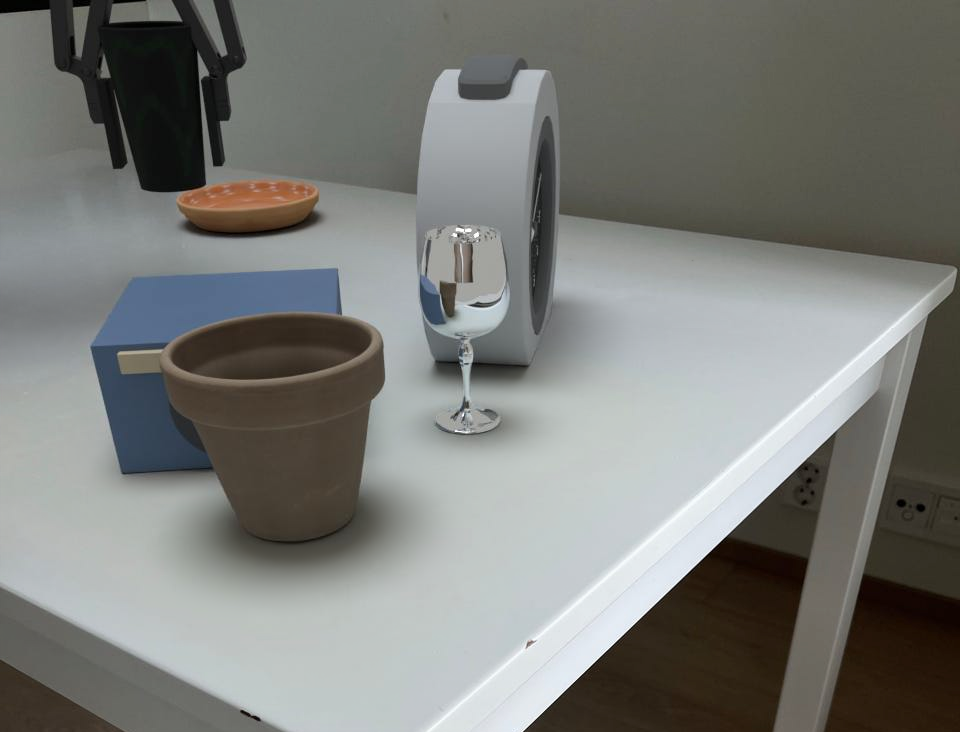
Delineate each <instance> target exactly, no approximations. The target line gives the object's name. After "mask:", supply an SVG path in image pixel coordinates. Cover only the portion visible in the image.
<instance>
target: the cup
mask: <svg viewBox="0 0 960 732" xmlns="http://www.w3.org/2000/svg"><path fill="white" fill-rule="evenodd" d="M97 30H98V34H99V37H100V41H101V44H102V48H103V52H104V58H105V62H106V66H107V69H108V73H109V78H111V81H112V84H113V88H114V93H115V98H116V104H117V107H118V111H119V115H120V117H121V120H122V121H121V122H122V124H123V128H124V132H125V135H126V139H127V142H128V146H129V150H130V152H131V153H130V154H131V157H132V161H133V164H134V168H135V171H136V175H137V179H138V182H139V186H140V189H141V190H143V191H146V192H151V193H180V192H181V193H182V192H188V191H191V190H195V189H199V188H202V187H206V186H207V175H206V161H205V159H206V158H205V145H204V133H203V132H204V131H203V130H204V129H203V114H202V97H201V82H200V69H199V68H200V67H199V53H198V51H197V49H196V47H195V45H194V43H193V41H192V37H191V26H190V25H184V23H183V21H182V20H137V21H136V20H135V21H119V22H109V26H108V27H102V26H98V27H97Z"/></svg>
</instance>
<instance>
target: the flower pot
mask: <svg viewBox="0 0 960 732" xmlns="http://www.w3.org/2000/svg"><path fill="white" fill-rule="evenodd" d="M384 348H385V346H384V339H383V336H382V333H381V332H380V330H378V329H377V328H376V327H375V326H373V325H372V324H371V323H369V322H366V321H364V320H362V319H359V318H355V317H352V316H347V315H343V314H342V315H338V314H330V313H320V312H277V313H264V314H257V315H249V316H243V317H237V318H232V319H227V320H223V321H219V322H215V323H212V324H208V325H205V326H202V327H199V328H196V329H194V330H192V331H189V332H187V333H185V334H183V335H181V336H179V337H177V338H176V339H174V340H173V341H171V342H170V343H169V344H168V345H167V346H166V347H165V348H164V349H163V350H162V352H161V354H160V358H159V364H160V369H161V371H162V374H163V378H164V382H165V386H166V390H167V394H168V397H169V400H170V403H171V405H172V406H173V407H174V409H175V410H176V411H177V412H179V413H180V414H181V415H183V416H184V417H186V418H188V419H190V420H192V422H193V424H194V426H195V428H196V430H197V432H198V434H199V436H200V438H201V441H202V443H203V445H204V447H205V450H206V452H207V454H208V456H209V459H210V461H211V463H212V465H213V468H212V469H213V470H214V472H215V475H216V477H217V479H218V482H219V484H220V486H221V488H222V490H223V492H224V494H225V496H226V498H227V500H228V502H229V504H230V507H231V508H232V510H233V512H234V514H235V516H236V517H237V519H238V521H239V523H240V525H241V526H242V528H243V529H245V531H246V532H248V533H249V534H251V535H253V536H255V537H258V538H261V539H264V540H267V541H268V540H269V541H274V542H302V541H308V540H313V539H317V538H321V537H324V536H327V535H330V534H332V533H334V532H336V531H338V530H340V529H341V528H343V527H344V526H345V525H347V523H349V522H350V521H351V519H352V518H353V517H354V514H355V513H356V508H357V504H358V499H359V494H360V487H361V483H362V482H361V481H362V476H363V469H364V462H365V453H366V444H367V437H368V436H367V435H368V427H369V419H370V411H371V405H372V401H373V400H374V399H375V398H376V397H377V396H378V395H379V394H380V393H381V391H382V389H383V388H384V385H385V382H386V366H385V365H386V364H385V353H384Z"/></svg>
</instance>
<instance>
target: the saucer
mask: <svg viewBox="0 0 960 732" xmlns="http://www.w3.org/2000/svg"><path fill="white" fill-rule="evenodd" d="M319 201H320V190H319V189H318V188H317V187H316V186H314V185H313V184H310V183H306V182H301V181H293V180H282V179H281V180H280V179H279V180H277V179H261V180H260V179H259V180H258V179H257V180H256V179H255V180H242V181H232V182H231V181H229V182H224V183H216V184H210V185H205V186H204V187H202V188H199V189H195V190H190V191H185V192H183V193H181V194H180V195H179V196H178V197H177V198H176V205H177V208H178V211H179V212H180V213H181V214H182V215H184V217H185V218H186V219H187V220H189V221H190V222H192V223H193V224H194V225H195V226H196V227H198V228H200V229H201V230H205V231H209V232H215V233H252V232H253V233H254V232H264V231H272V230H279V229H282V228H286V227H291V226H294V225H297V224H299V223H301V222H303V221H305V219H307V217H308V216H309V214H310V213H311V211H312V210H314V209H315V207H316V205H317V204H318V203H319Z"/></svg>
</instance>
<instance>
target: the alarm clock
mask: <svg viewBox="0 0 960 732" xmlns="http://www.w3.org/2000/svg"><path fill="white" fill-rule="evenodd" d="M528 68H529V65H528V62H527V61H526V60H525V59H524V58H523V57H522V56H521V55H520V54H487V53H486V54H480V53H479V54H478V53H477V54H473V55H472V56H471V57H469V58H468V60H466V61H465V62H464V64H463V66H462V68H459V69H457V68H456V69H453V68H451V69H448V68H447V69H444V70H443V71H442V73H440V75H439V76H438V78H437V79H436V80H435V82H434V84H433V88H432V91H431V94H430V98H429V100H428V103H427V108H426V113H425V119H424V124H423V129H422V133H421V142H420V150H419V160H418V171H417V183H416V185H417V187H416V208H415V240H416V242H415V243H416V244H415V245H416V248H415V249H416V272H417V276H418V275H419V265H420V258H421V252H422V247H423V241H424V236H425V233H426V232H427V231H429V230H432V229H435V228H439V227H444V226H451V225H481V226H487V227H492V228H495V229H497V230H499V231H500V232H501V236H502V240H503V244H504V248H505V253H506V257H507V262H508V268H509V276H510V302H509V308H508V311H507V314H506V316H505V318H504V320H503V321H502V323H501V324H500V325H499V326H498V327H497V328H496V329H495V330H494V331H492V332H491V333H489V334H487V335H485V336H482V337H480V338H477V339H472V340H470V344H471V346H472V348H473V354H474V355H473V362H472V364H489V365H509V366H530V365H531V364H532V361H533V359H534V356H535V353H536V351H537V349H538V346H539V343H540V342H541V338H542V336H543V333H544V331H545V328H546V326H547V323H548V321H549V319H550V316H551V314H552V313H551V312H552V306H553V298H554V291H555V290H554V287H555V280H556V279H555V277H556V267H557V254H558V241H559V223H560V222H559V220H560V197H561V196H560V194H561V193H560V191H561V190H560V187H561V180H560V179H561V149H560V148H561V144H560V143H561V142H560V141H561V140H560V134H561V133H560V120H559V119H560V118H559V106H558V98H557V92H556V91H557V89H556V84H555V81H554V78H553V75H552V72H551V70H546V69H528ZM421 317H422V322H423V329H424V334H425V338H426V341H427V345H428V347H429V352H430V354H431V356H432V358H433V359H434V361H436V362H449V363H450V362H451V363H460V362H459V356H458V353H459V346H460V345H461V340H456V339H452V338H449V337H446V336H444V335H442V334H440V333H438V332H437V331H435V330H434V329H432V328H431V326H430V325H429V324H428V323H427V322H426V320H425V318H424V316H423V314H422V313H421Z"/></svg>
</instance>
